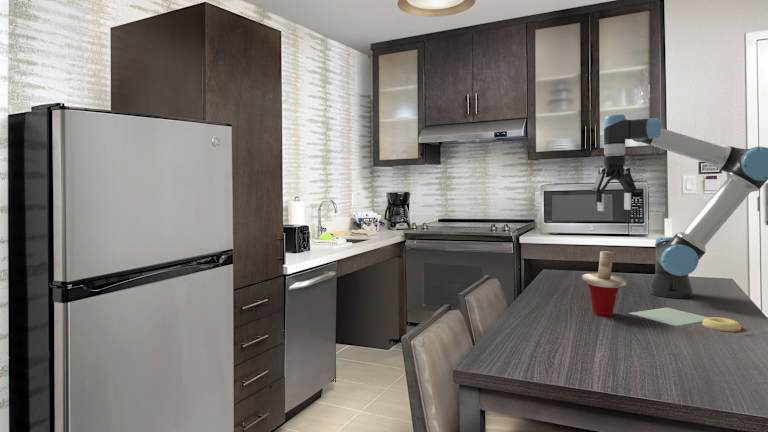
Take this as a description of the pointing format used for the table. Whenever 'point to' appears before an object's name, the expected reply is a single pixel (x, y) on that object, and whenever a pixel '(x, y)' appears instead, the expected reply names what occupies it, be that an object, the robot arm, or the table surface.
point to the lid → (604, 273)
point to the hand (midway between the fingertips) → (614, 210)
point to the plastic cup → (602, 299)
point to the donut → (721, 324)
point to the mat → (670, 316)
